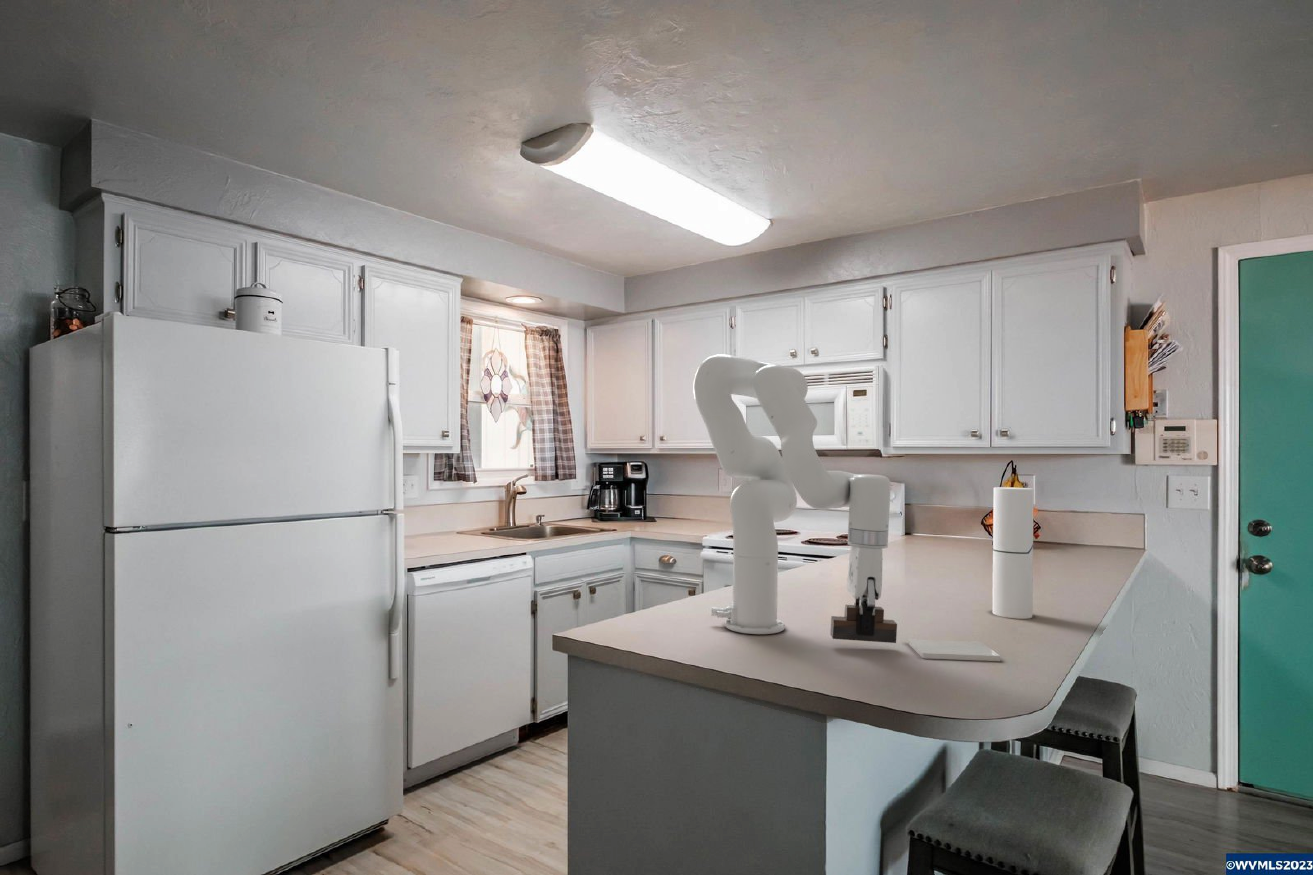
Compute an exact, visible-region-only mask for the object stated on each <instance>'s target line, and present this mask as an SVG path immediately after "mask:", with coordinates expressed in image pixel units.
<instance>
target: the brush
mask: <svg viewBox="0 0 1313 875" xmlns="http://www.w3.org/2000/svg"><path fill="white" fill-rule="evenodd" d="M857 614H859V605H854V604H844V616H838V615H837V616H836V615H835V616H834V615H831V616H830V636H831V638H832V640H845V641H860V642H875V643H887V644H889V643H890V644H896V643H897V635H898V623H897V622H896V621H895V620H894V619H885V618H884V617H885V609H884V608H883V607H882V606H875V624H874V635H873V636H864V635H858V634H857Z"/></svg>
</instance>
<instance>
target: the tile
mask: <svg viewBox="0 0 1313 875" xmlns="http://www.w3.org/2000/svg"><path fill="white" fill-rule="evenodd" d="M908 645H909V646H910V647H911V649H913V650H914V652H916V653H917V654H918V655H919V657H921V658H922V659H925V660H926V659H929V660H951V661H955V660H956V661H977V662H978V661H980V662H1001V660H1002V659H1001V655H1000V654H998V653H997V652H996V651H994V650H993V649H992V648H990V647H989V646H987V644H985V643H983V642H982V641H970V640H969V641H967V640H942V639H941V640H939V639H936V640H935V639H914V638H913V639H912V638H911V639H910V638H909V639H908Z"/></svg>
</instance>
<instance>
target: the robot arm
mask: <svg viewBox="0 0 1313 875" xmlns="http://www.w3.org/2000/svg"><path fill="white" fill-rule="evenodd" d="M692 385H693V386H692V392H693V397H694V402H695V404H696V407H697V409H698V411H699V414H700V416H701V418H702V421H703V423H704V425H705V427H706V430H707V433H708V437H709V439H710V441H711V444H712V447H713V450H714V452H715V455H716V458H717V460H718V462H719V465H720V467H721V469H722V471H723V472H724V474H726V475H727V476H729V477H731V478H735V479H736V478H737V479H747V478H748V480H747V481H744V482H742V483H740V484H738V486H737V487H736V488H735V489H734V490H733V491H732V494H731V495H730V499H729V512H730V519H731V524H732V536H733V537H732V539H733V540H732V541H733V544H732V547H733V550H732V553H733V554H732V560H733V562H732V602H731V603H730V605H729V606H728V605H726V607H719V606H711V617H716V618H718V619H719V618H720V619H723V618H724V619H725V621H724V626H725V628H726V629H728V630H729V631H732V632H736V633H739V634H740V633H741V634H746V635H747V634H748V635H773V634H778V633H781V632H782V631H784V630H785V623H784V621H782V620H780V619H778V581H779V580H778V579H779V578H778V575H779V573H778V572H779V567H778V566H779V543H778V542H779V541H778V536H777V535H778V534H777V530H776V528H775V524H774V523H779V522H784V521H786V520H788V519H789V518H791V517H792V516H793V515H794V513H795V512H796V508H797V506H798V498H797V493H798V495H799V497H800V499H802V500H803V502H804V503H805V504H806V505H807V506H809V507H810V508H812V509H815V510H820V511H821V510H823V511H824V510H830V509H841V508H848V524H847V525H848V526H847V545H849V546H850V550H849V558H848V569H847V579H846V589H847V591H848V592H849V593H850V594H851V596H852V597H853V598H854V601H853V605H859V614H857V634H858V635H864V636H873V635H874V624H875V607H876V601H878V600H880V599H881V597H882V590H883V560H884V559H883V549H887V548H889V547H888V546H889V528H890V506H891V485H892V484H891V480H890V478H888V477H887V476H885V475H881V474H870V473H853V472H849V471H844V470H827V469H826V467H825V466H824V464H823V462H822V461H821V458H820V457H819V455H818V453H817V450H816V448H815V444H814V441H813V439H814V438H813V437H814V432H815V430H816V429H817V426H818V420H817V418H816V416H815V413H813V411H812V409H811V408H810V406H809V405H808V403H807V401H806V399H805V398H806V396H808V395H807V394H808V389H809V388H808V387H809V386H808V381H807V379H806V377H805V375H804V374H803V373H802V371H800V370H798V369H797V368H794V367H789V366H785V365H780V364H772V363H768V362H764V361H759V360H755V359H751V358H746V357H741V356H736V355H731V354H723V353H722V354H714V355H711V356H709V357H707V358H705V359H704V360H703V361H702V362H701V363H700V365H699V366H698V368H697V370H696V373H695V375H694V378H693V384H692ZM731 395H736V396H744V397H749V398H753V399H756V400H757V401H758V403H759V405H760V406H761V408H762V410H763V412H764V413H765V415H766V417H767V419H768V420H769V422H770V424H771V425H772V427H773V430H774V432H776V435H777V436H778V438H779V440H780V450H781V453H780V451H779V449H778V448H777V446H776V445H775V443H773V441H771V440H770V439H769V438H767V437H764V436H762V435H756V434H755V435H754V434H753V433H752V432H750V430H749V427H748V426H747V423H746V420H745V418H744V415H743V412H742V411H741V409H740V408H739V406H738V405H737V404H736V402H735V401H734V400H733V398H732V396H731ZM796 492H797V493H796Z"/></svg>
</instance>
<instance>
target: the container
mask: <svg viewBox="0 0 1313 875" xmlns="http://www.w3.org/2000/svg"><path fill="white" fill-rule="evenodd" d="M1034 491H1035V490H1034V488H1030V487H1015V486H1014V487H1012V486H1011V487H1010V486H1005V487H1004V486H995V487H993V498H992V499H993V503H992V504H993V505H992V506H993V508H992V510H993V512H992V514H993V516H992V518H993V519H992V522H993V523H992V610H991V611H992V614H993V615H995V616H998V617H1002V618H1009V619H1016V620H1017V619H1018V620H1019V619H1021V620H1023V619H1024V620H1026V619H1031V618H1033V608H1034V607H1033V602H1034V601H1033V598H1034V597H1033V595H1034V594H1033V591H1034Z"/></svg>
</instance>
